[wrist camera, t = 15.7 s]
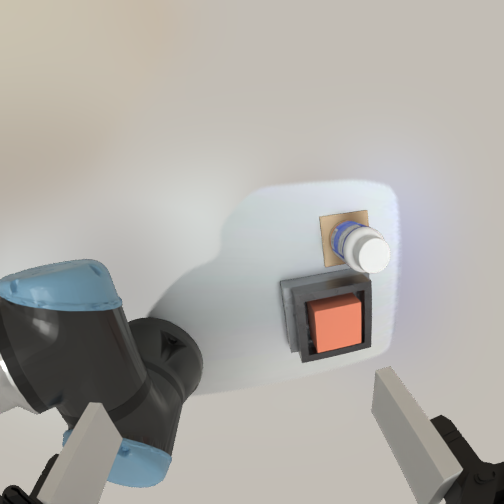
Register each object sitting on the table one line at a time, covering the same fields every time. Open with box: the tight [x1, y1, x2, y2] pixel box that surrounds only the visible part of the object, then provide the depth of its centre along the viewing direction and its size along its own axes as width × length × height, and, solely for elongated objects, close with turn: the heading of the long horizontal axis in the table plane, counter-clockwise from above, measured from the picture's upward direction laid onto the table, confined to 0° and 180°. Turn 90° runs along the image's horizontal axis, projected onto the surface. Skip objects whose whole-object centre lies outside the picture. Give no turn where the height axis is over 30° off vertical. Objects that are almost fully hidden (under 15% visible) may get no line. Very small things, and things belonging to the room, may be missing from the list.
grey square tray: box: [280, 268, 372, 363], centre depth 39 cm, size 12×10×6 cm
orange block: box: [307, 292, 361, 353], centre depth 37 cm, size 6×6×5 cm
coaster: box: [319, 210, 369, 267], centre depth 39 cm, size 7×7×1 cm
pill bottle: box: [329, 220, 391, 274], centre depth 34 cm, size 5×5×10 cm
